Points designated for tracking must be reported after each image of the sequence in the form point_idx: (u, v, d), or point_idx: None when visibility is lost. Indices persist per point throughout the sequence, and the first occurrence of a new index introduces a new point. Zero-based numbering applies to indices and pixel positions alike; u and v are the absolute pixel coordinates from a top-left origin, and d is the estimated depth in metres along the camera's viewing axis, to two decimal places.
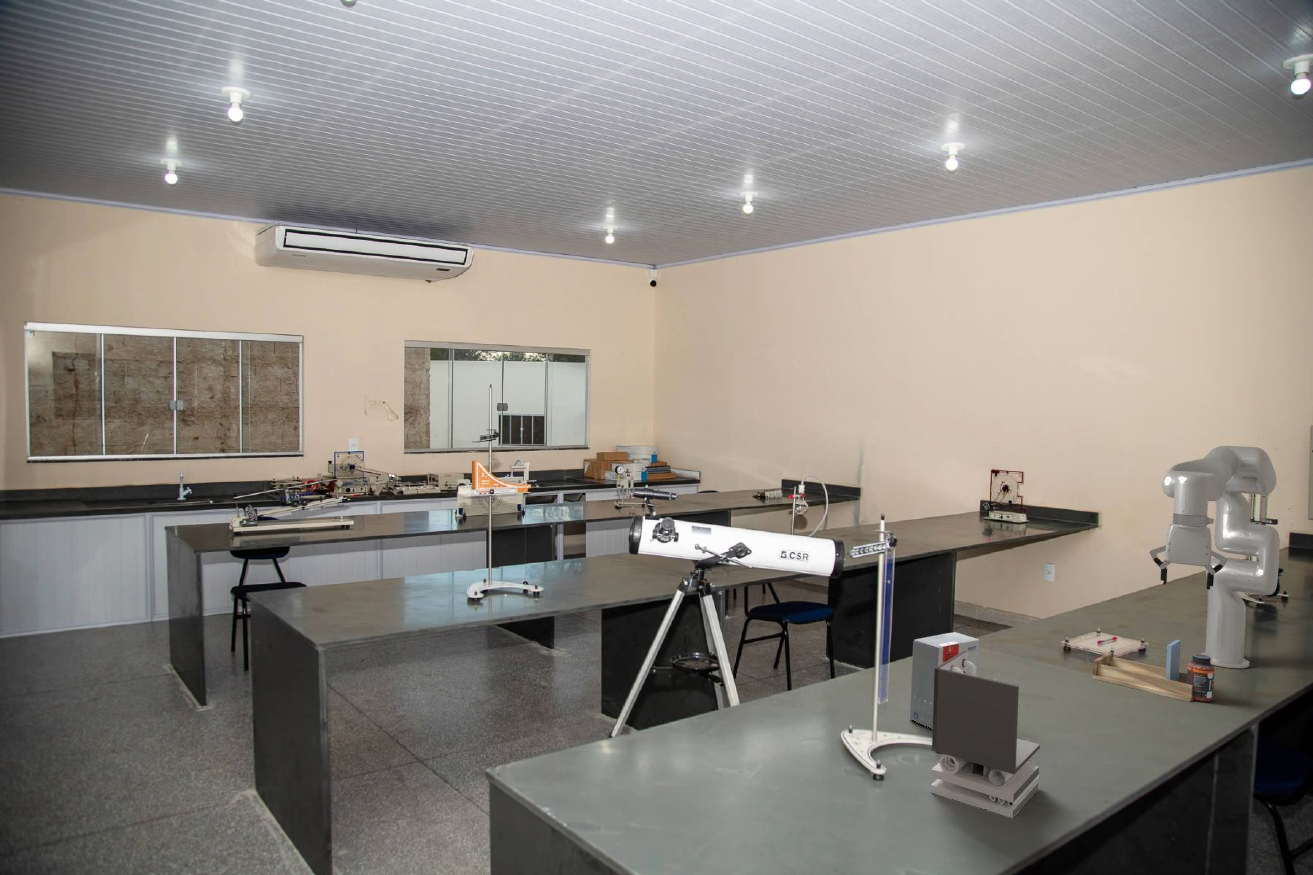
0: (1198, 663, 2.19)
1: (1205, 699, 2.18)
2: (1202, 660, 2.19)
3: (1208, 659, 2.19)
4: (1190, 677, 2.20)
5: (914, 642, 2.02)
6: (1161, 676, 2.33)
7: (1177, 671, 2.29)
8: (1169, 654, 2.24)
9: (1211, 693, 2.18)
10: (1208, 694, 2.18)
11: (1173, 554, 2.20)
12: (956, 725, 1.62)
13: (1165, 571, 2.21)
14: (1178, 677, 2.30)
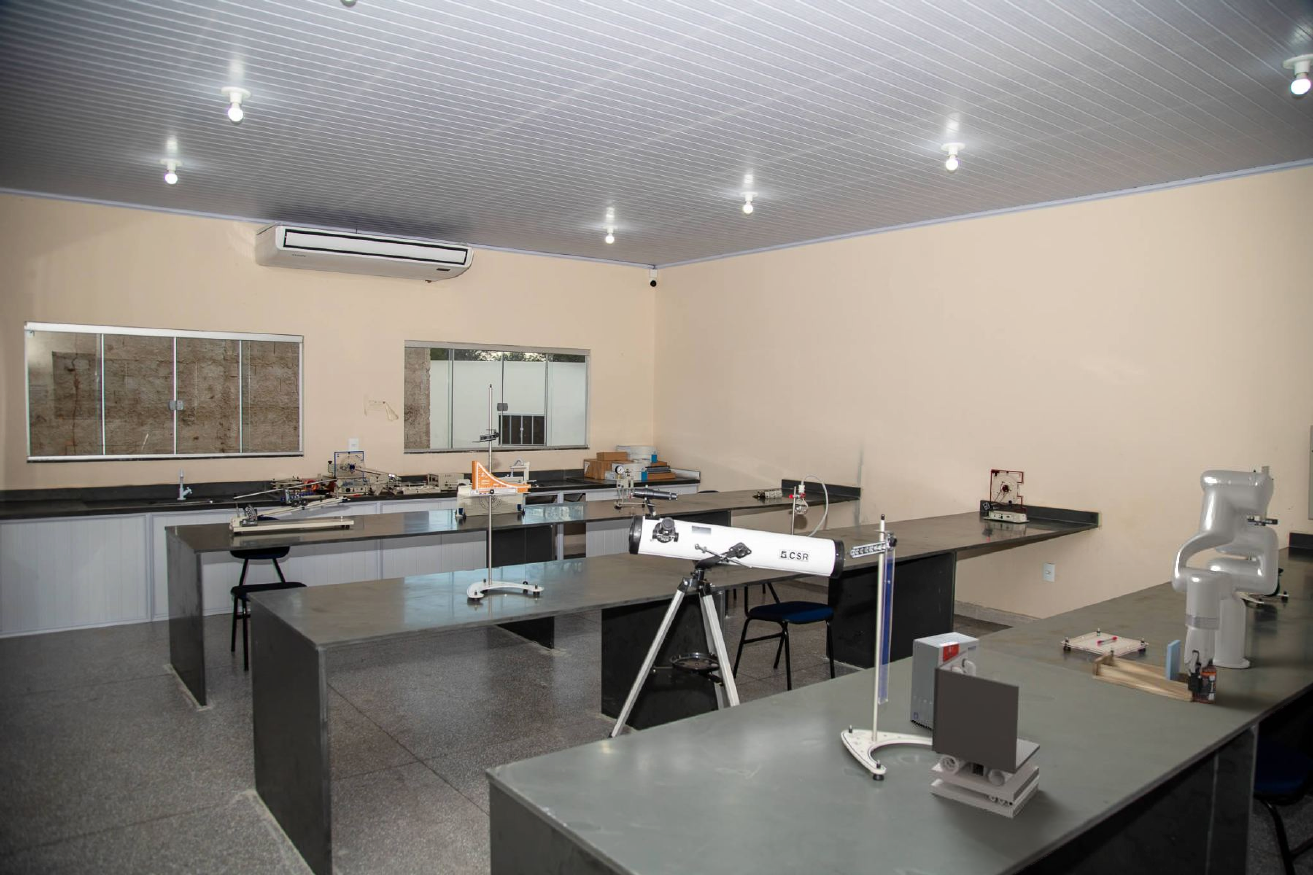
0: (1200, 665, 2.19)
1: (1207, 701, 2.18)
2: None
3: (1210, 661, 2.18)
4: None
5: (914, 642, 2.02)
6: (1161, 676, 2.33)
7: (1177, 671, 2.29)
8: (1169, 654, 2.24)
9: (1213, 695, 2.18)
10: (1210, 696, 2.18)
11: (1207, 659, 2.17)
12: (956, 725, 1.62)
13: (1202, 679, 2.17)
14: (1178, 677, 2.30)
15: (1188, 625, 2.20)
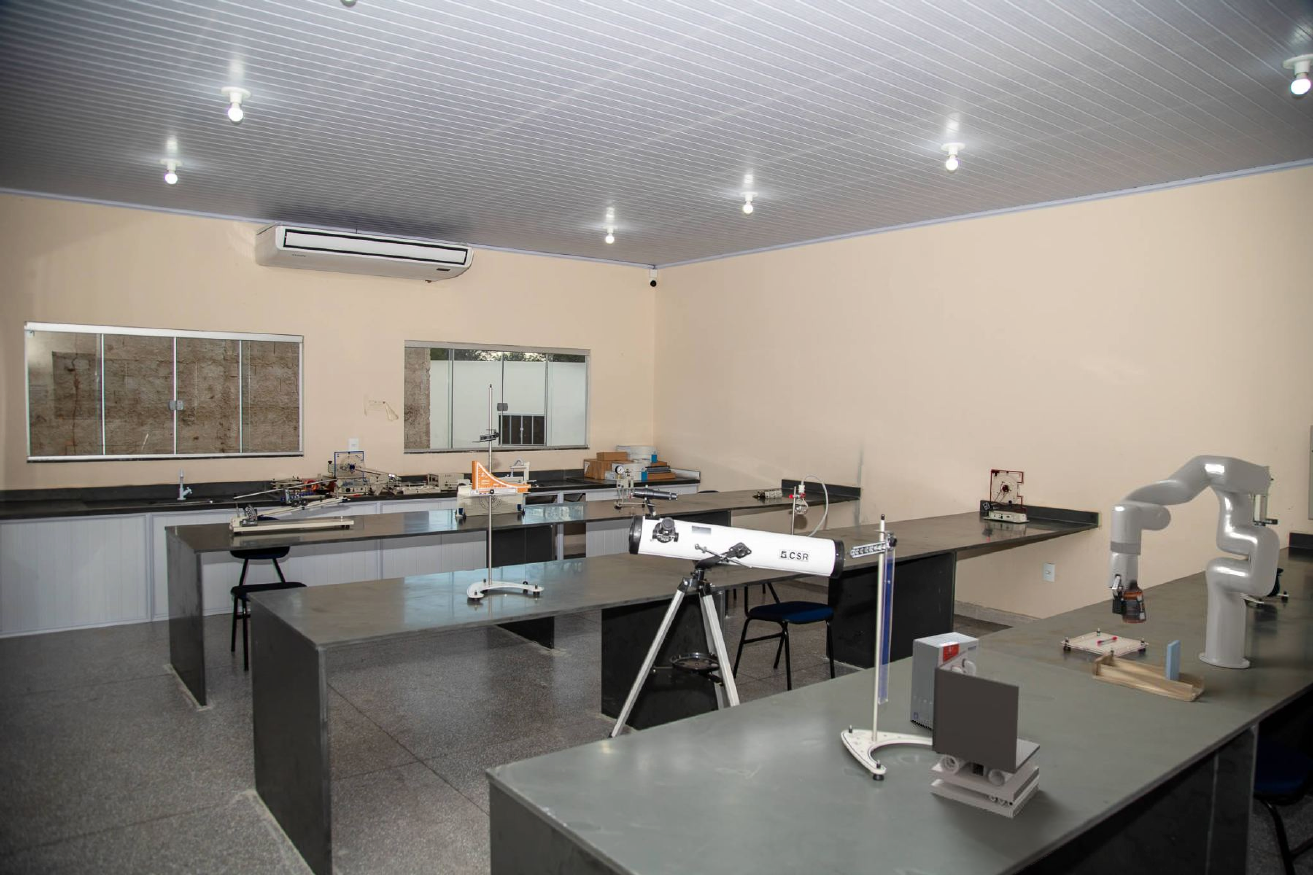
0: None
1: (1139, 621, 2.31)
2: (1130, 584, 2.33)
3: (1135, 583, 2.33)
4: None
5: (914, 642, 2.02)
6: (1161, 676, 2.33)
7: (1177, 671, 2.29)
8: (1169, 654, 2.24)
9: (1144, 614, 2.32)
10: (1141, 615, 2.31)
11: (1128, 582, 2.32)
12: (956, 725, 1.62)
13: (1125, 602, 2.33)
14: (1178, 677, 2.30)
15: (1112, 551, 2.35)
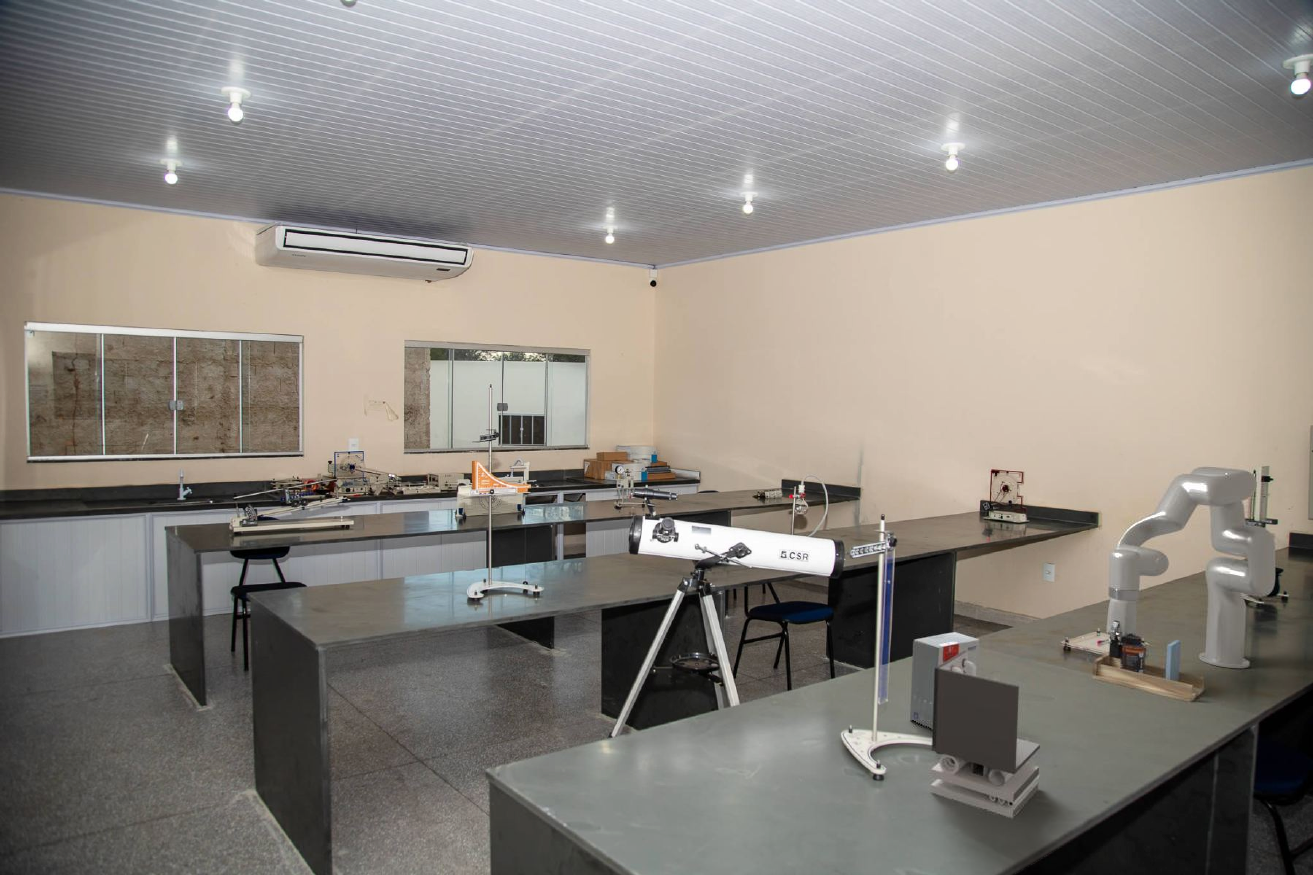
0: (1130, 643, 2.33)
1: None
2: (1134, 640, 2.33)
3: (1139, 639, 2.33)
4: (1123, 657, 2.34)
5: (914, 642, 2.02)
6: (1161, 676, 2.33)
7: (1177, 671, 2.29)
8: (1169, 654, 2.24)
9: (1142, 671, 2.32)
10: (1140, 672, 2.32)
11: (1127, 628, 2.33)
12: (956, 725, 1.62)
13: (1122, 646, 2.32)
14: (1178, 677, 2.30)
15: (1110, 597, 2.36)
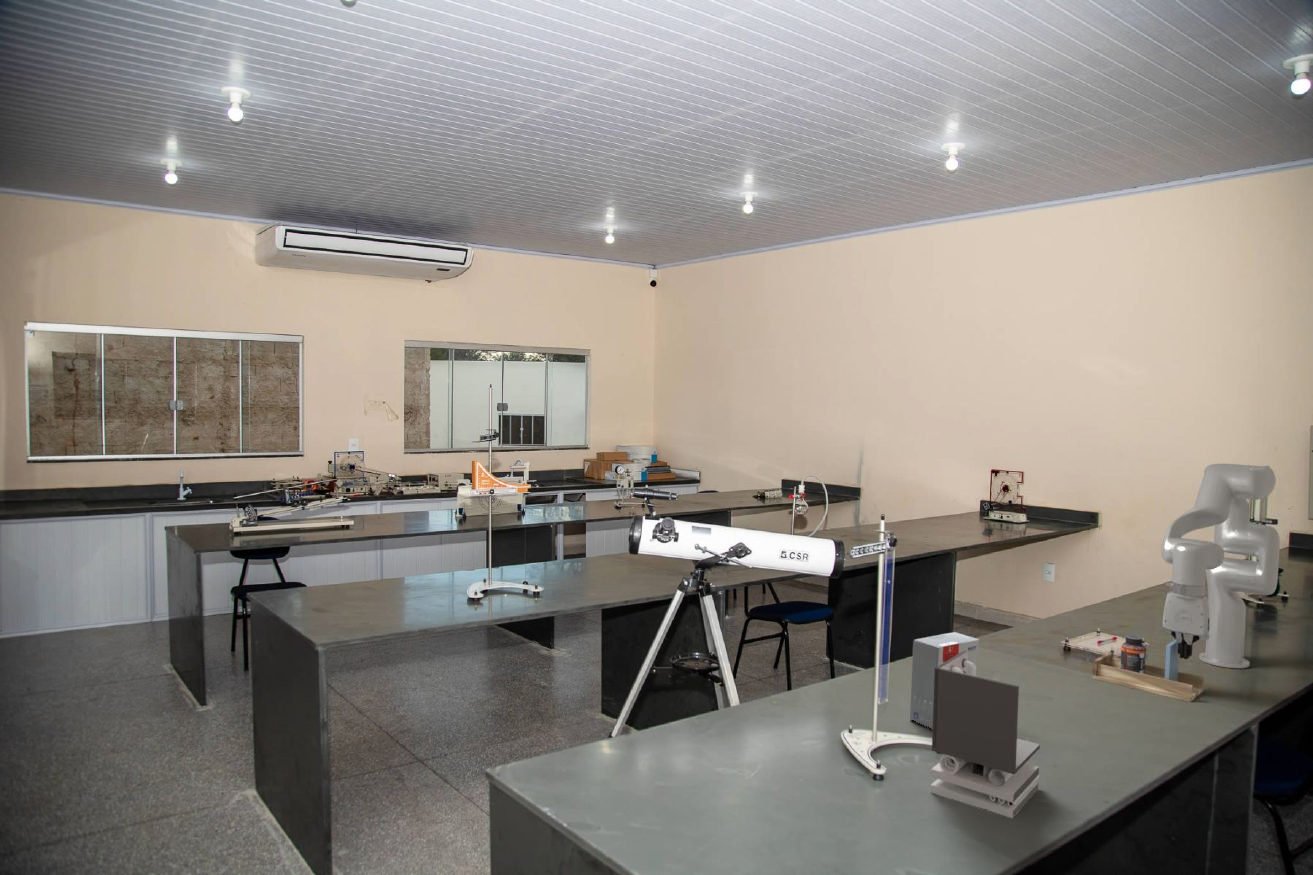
0: (1131, 644, 2.33)
1: None
2: (1134, 641, 2.33)
3: (1140, 640, 2.33)
4: (1124, 657, 2.34)
5: (914, 642, 2.02)
6: (1161, 676, 2.33)
7: (1176, 671, 2.29)
8: (1168, 654, 2.24)
9: (1143, 672, 2.32)
10: (1140, 672, 2.32)
11: None
12: (956, 725, 1.62)
13: None
14: (1177, 677, 2.30)
15: (1197, 597, 2.21)
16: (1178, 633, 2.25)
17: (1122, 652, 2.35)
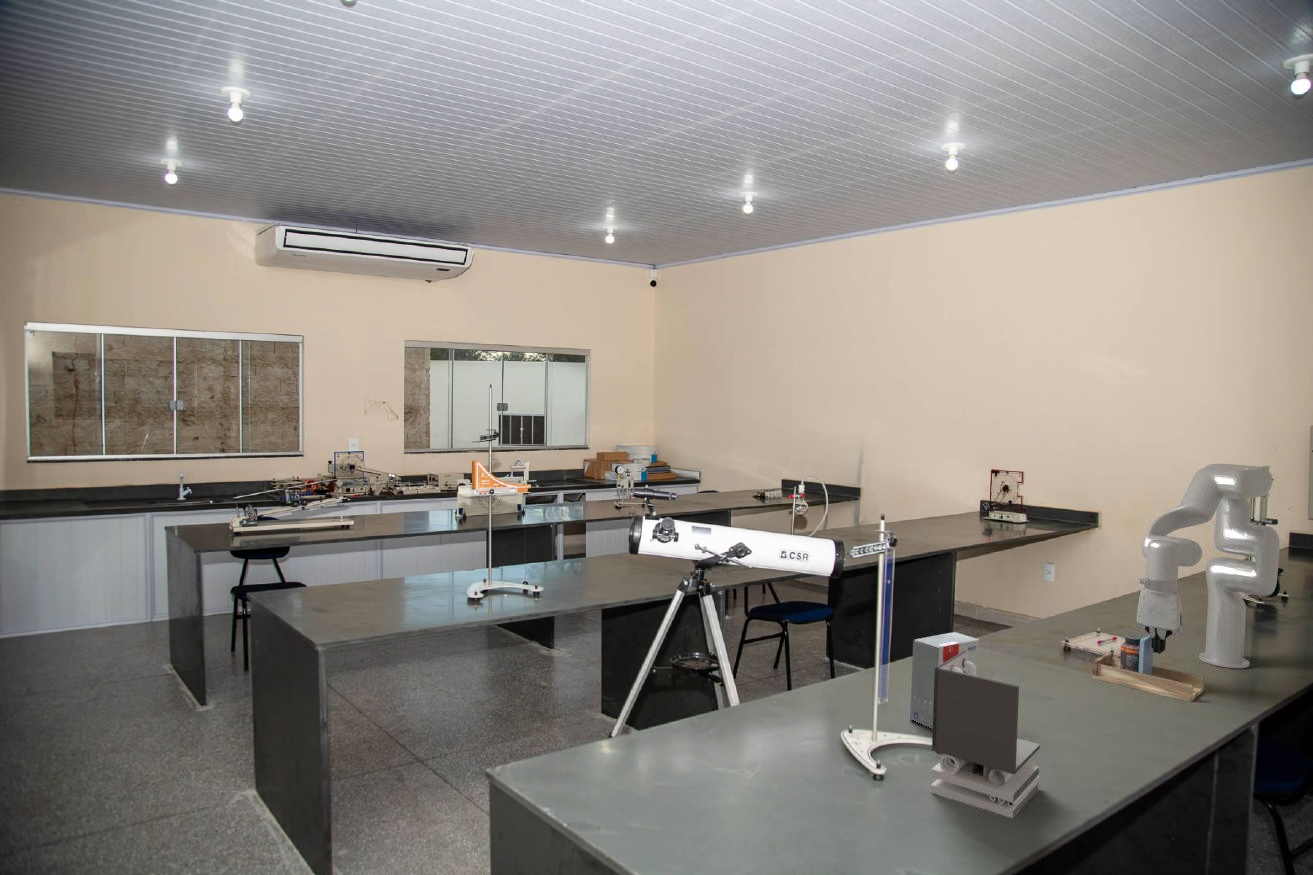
0: (1131, 644, 2.33)
1: None
2: (1134, 641, 2.33)
3: (1139, 640, 2.33)
4: (1123, 657, 2.34)
5: (914, 642, 2.02)
6: (1161, 676, 2.33)
7: (1150, 665, 2.33)
8: (1142, 648, 2.29)
9: None
10: None
11: None
12: (956, 725, 1.62)
13: None
14: (1151, 671, 2.34)
15: (1169, 592, 2.25)
16: (1152, 628, 2.29)
17: (1122, 652, 2.35)
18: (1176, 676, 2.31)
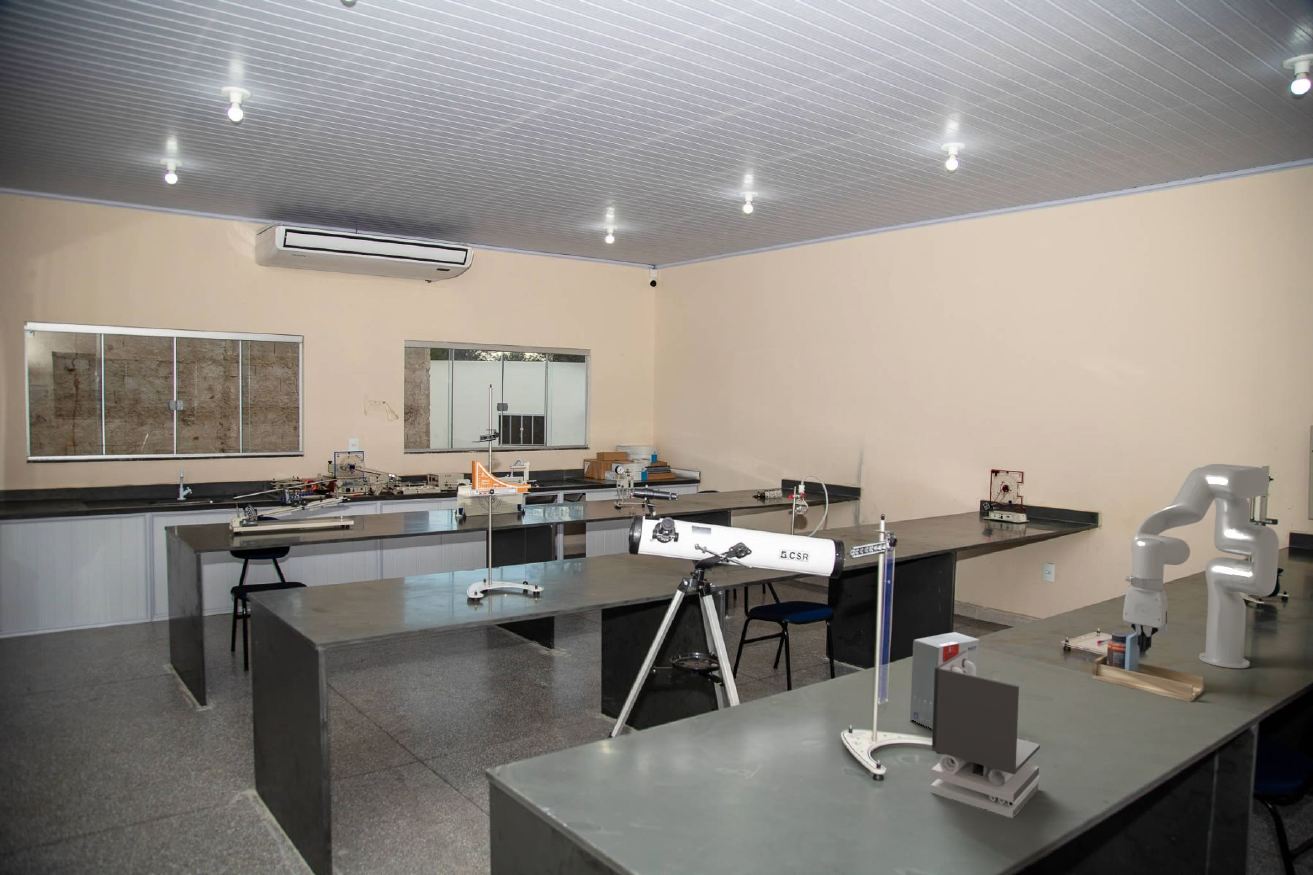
0: (1117, 641, 2.36)
1: None
2: (1120, 638, 2.35)
3: None
4: (1110, 654, 2.37)
5: (914, 642, 2.02)
6: (1161, 676, 2.33)
7: (1136, 662, 2.36)
8: (1128, 645, 2.31)
9: None
10: None
11: None
12: (956, 725, 1.62)
13: None
14: (1138, 668, 2.37)
15: (1155, 590, 2.28)
16: (1138, 625, 2.32)
17: (1108, 649, 2.37)
18: (1176, 676, 2.31)
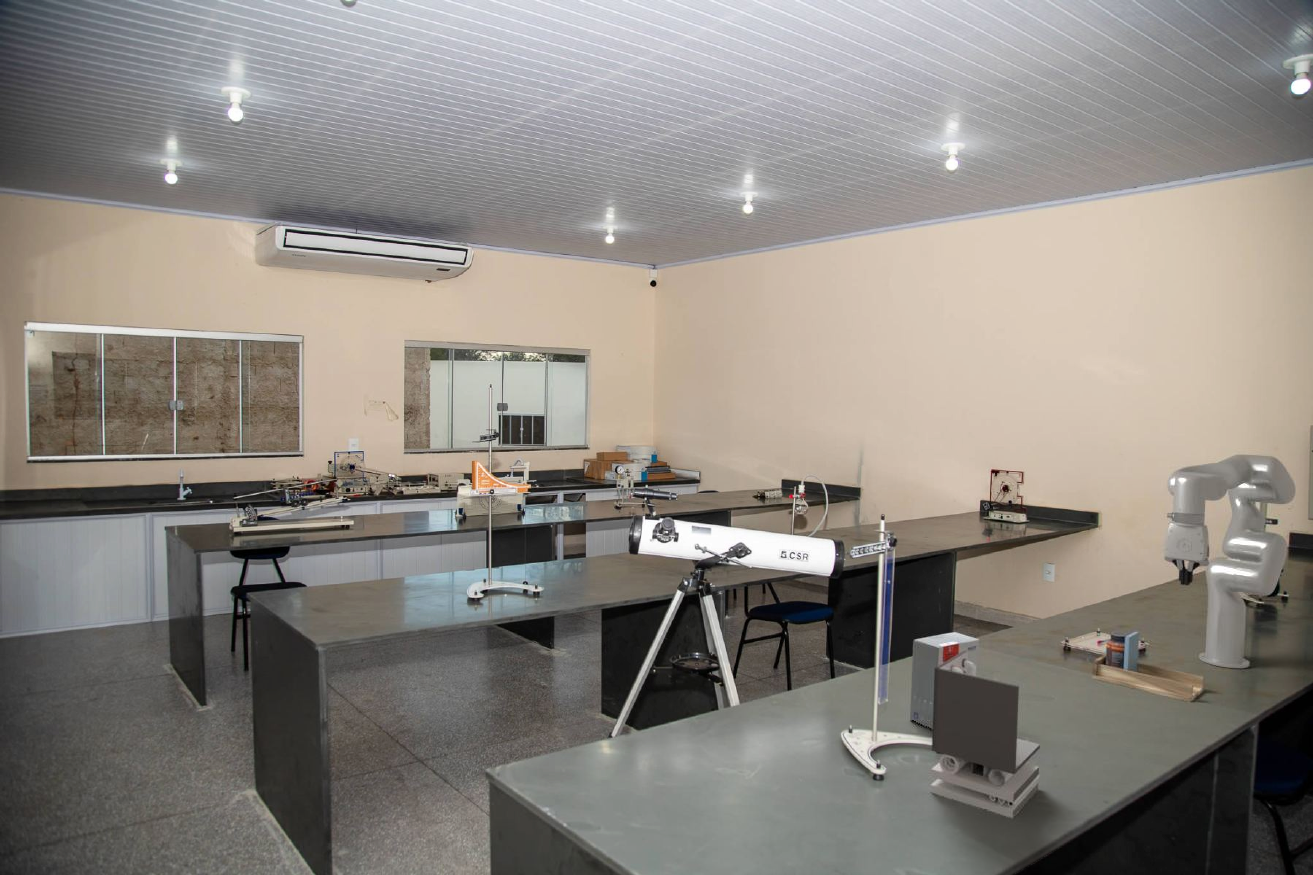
0: (1116, 641, 2.36)
1: None
2: (1119, 638, 2.35)
3: None
4: (1109, 654, 2.37)
5: (914, 642, 2.02)
6: (1161, 676, 2.33)
7: (1135, 662, 2.36)
8: (1127, 645, 2.32)
9: None
10: None
11: None
12: (956, 725, 1.62)
13: None
14: (1136, 668, 2.37)
15: (1197, 524, 2.31)
16: (1179, 561, 2.35)
17: (1107, 649, 2.38)
18: (1176, 676, 2.31)
